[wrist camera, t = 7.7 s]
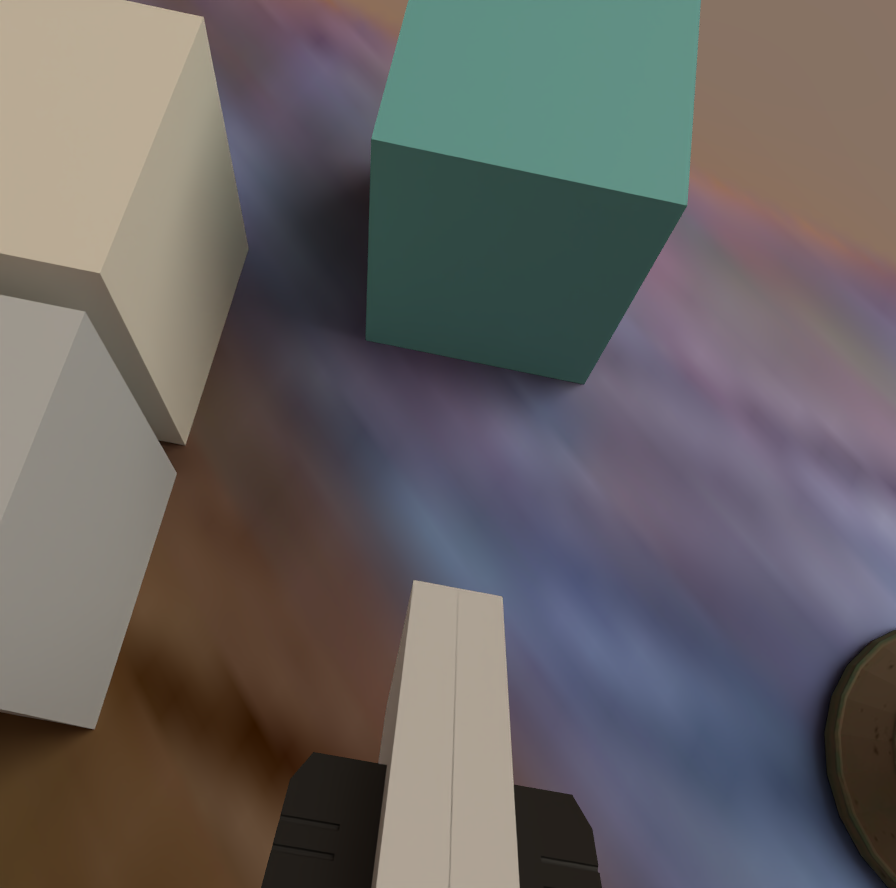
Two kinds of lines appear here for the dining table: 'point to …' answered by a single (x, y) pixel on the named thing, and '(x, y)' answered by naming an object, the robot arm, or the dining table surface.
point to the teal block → (527, 175)
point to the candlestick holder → (866, 753)
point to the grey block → (69, 511)
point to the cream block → (121, 188)
